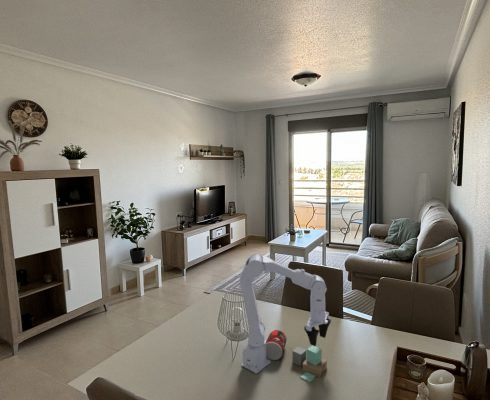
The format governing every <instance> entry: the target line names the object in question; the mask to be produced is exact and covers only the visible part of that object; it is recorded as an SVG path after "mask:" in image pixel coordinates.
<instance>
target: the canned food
mask: <svg viewBox="0 0 490 400" xmlns="http://www.w3.org/2000/svg"><path fill="white" fill-rule="evenodd" d="M287 339H288V338H287V336H286V334H285V332H283V331H282V330H279V329H275V330H272V331H271V332H270V333H269V335H268V337H267V339H266V359H268V360H270V361H278V360H279V359H281V358H282V356H283V353H284V351H285V347H286V345H287Z"/></svg>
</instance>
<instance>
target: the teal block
mask: <svg viewBox="0 0 490 400" xmlns="http://www.w3.org/2000/svg"><path fill="white" fill-rule="evenodd" d="M322 349H323V348H320V347H318V346H317V345H316V346H313V345H311V346H309V347H308V348H306V359H307V361H308V362H309V363H311V364H313V365H315V366H316V365H317V364H319V363H320V362H321V361H322V359H323V358H322V355H323V354H322V352H323V351H322Z"/></svg>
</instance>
